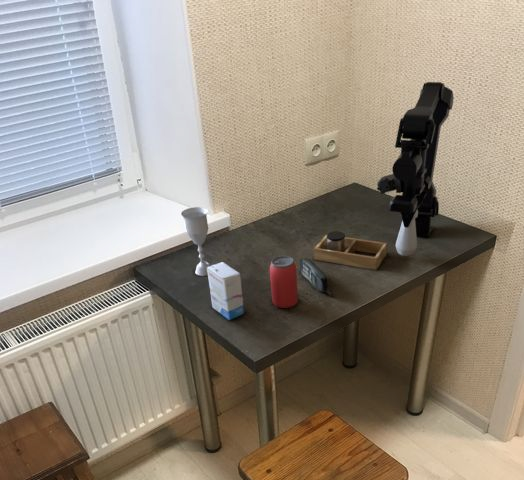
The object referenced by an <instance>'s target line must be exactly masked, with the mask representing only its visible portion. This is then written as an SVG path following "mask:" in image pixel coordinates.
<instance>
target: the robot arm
mask: <svg viewBox="0 0 524 480" xmlns="http://www.w3.org/2000/svg"><path fill="white" fill-rule="evenodd" d="M454 97H455V96H454V92H453V90H452V89H450V88H449V87H447V86H445V83H443V82H441V81H427V82H424V83H423V85H422V88H421V89H420V92H419V97H418V100H417V102H416V104H415V106H414V107H413V108H410V109H408V110H407V111H406V112H405V113H404V115H403V117H401V118H400V121H399V125H398V129H397V134H396V140H395V144H394V148H396V149H400V154H399V155H398V157H397V158H396V159H395V161H394V162H393V165H392V168H391V170H392V173H391V174H388V175H384V176H382V177H380V178H379V180H378V181H377V188H376V191H379V192H380V194H381V195H384V194H385V195H386V193H390V192H394V191H395V193H396V195H395V196H393V198H392V199H391V200H390V201H389V203H388V210H389V212H395V213H400V216H401V221H402V220H403V224H404V227H407V228H408V227H409V225H410V223H411V221H412V219H413V217H414V215H415V213H416V211H417V210H418V216H417V218H415V225H416V237H417V238H418V237H420V238H425V239H427V238H429V237H430V235H431V233H432V231H433V229H434V228H433V226H431V220H432V218H435V217H436V216H439V212H440V202H439V199H438V196H437V189H436V186H435V184H434V182H433V178H434V174H435V173H434V172H435V167H436V166H435V165H436V159H437V153H438V147H439V141H440V134H441V128H442V126H443V125H444V123H445V122H446V120H448V118H449V115H450V110H452V109H453V106H454V99H455V98H454Z"/></svg>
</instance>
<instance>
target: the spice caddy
mask: <svg viewBox="0 0 524 480" xmlns="http://www.w3.org/2000/svg"><path fill="white" fill-rule="evenodd" d="M327 234H328V233H327ZM327 234H325V235H324V236H323V238H322V239H321V240H320V241H319V243H318V244H317V245H316V246H315V247H314V248H313V260H315V261H320V262H326V263H332V264H338V265H344V266H350V267H355V268H363V269H368V270H375V271H376V270H378V268H379V266H380V265H381V264H382V262H383V261H384V259H385V258H386V256H387V253H388V243H387V242H384V241H383V242H382V241H375V240H368V239H361V238H354V237H347V236H345V252H339V251H333V250H327ZM357 252H361V253H368V254H375V256H370V255H364V254H358V253H357Z"/></svg>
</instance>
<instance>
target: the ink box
mask: <svg viewBox="0 0 524 480" xmlns="http://www.w3.org/2000/svg"><path fill="white" fill-rule="evenodd" d="M207 272H208V275H207V278H208V286H209V291H210V292H209V293H210V299H211V307H212V309H214V310H215V311H216V312H218V313H219V314H220V315H222V316H223V317H225V319H226V320H228V321H231V320H234V319H235V318H237V317H239V316H242V315H244V314H245V307H244V299H243V298H244V297H243V289H242V279H241V273H240V272H238V271H237V270H236V269H234V268H232V267H231V266H229V265H228V264H226V263H225V262H223V261H221V262H218V263H216V264H212V265H210V266H209V267H208V268H207Z"/></svg>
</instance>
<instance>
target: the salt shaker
mask: <svg viewBox="0 0 524 480" xmlns="http://www.w3.org/2000/svg"><path fill="white" fill-rule="evenodd" d="M417 216H418V210H417V211H416V213H415V215H414V217H413V219H412V221H411V223H410V225H409V227H408V228H407V227H404V224H403V220H402V219H401V224H400V229H399V231H398V234H397V238H396V242H395V249H396V252H397V253H398V254H399V255H401V256H405V257H409V256H411V255H413V254H415V252H416V250H417V248H418V236H416V225H415V218H417Z"/></svg>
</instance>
